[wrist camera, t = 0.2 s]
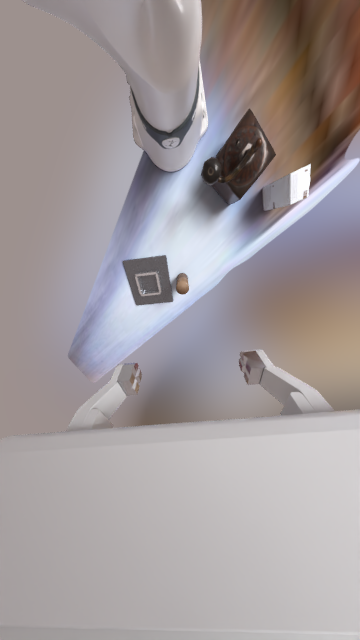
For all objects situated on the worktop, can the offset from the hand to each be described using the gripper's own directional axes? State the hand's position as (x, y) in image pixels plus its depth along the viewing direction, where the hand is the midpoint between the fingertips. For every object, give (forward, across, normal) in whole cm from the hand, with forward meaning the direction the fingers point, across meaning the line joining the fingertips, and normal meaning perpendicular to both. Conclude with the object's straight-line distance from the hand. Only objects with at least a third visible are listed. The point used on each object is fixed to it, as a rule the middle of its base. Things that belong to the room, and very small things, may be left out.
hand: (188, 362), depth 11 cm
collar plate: (+48, +13, +7) cm, 50 cm away
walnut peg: (+48, 0, +7) cm, 48 cm away
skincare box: (+48, -29, -13) cm, 57 cm away
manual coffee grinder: (+48, -15, -19) cm, 54 cm away
